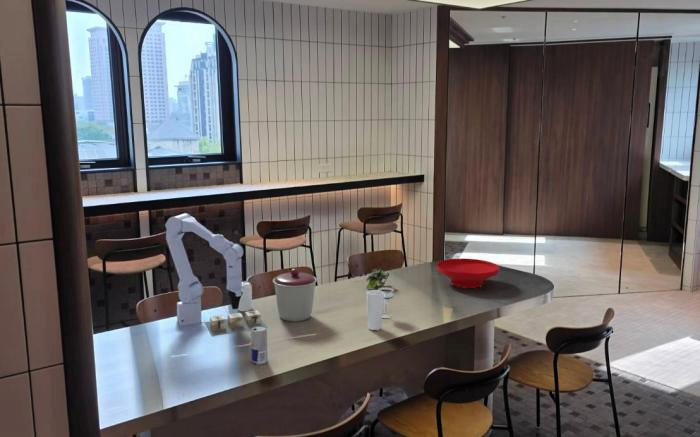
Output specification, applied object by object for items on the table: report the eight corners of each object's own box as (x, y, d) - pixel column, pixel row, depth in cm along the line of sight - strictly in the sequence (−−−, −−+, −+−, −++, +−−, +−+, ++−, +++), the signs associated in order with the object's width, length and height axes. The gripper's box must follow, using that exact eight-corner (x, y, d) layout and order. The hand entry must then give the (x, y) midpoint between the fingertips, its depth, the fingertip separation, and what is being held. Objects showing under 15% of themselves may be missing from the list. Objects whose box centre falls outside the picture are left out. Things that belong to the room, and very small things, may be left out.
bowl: (504, 293, 269) (505, 273, 267) (440, 293, 269) (441, 273, 267) (489, 276, 299) (490, 257, 297) (432, 275, 299) (433, 257, 297)
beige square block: (212, 330, 218) (212, 320, 218) (210, 326, 223) (210, 316, 222) (225, 328, 220) (225, 318, 220) (223, 324, 225) (222, 314, 224)
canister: (293, 307, 247) (292, 261, 243) (325, 316, 237) (325, 267, 233) (264, 319, 233) (263, 270, 229) (297, 329, 222) (297, 277, 219)
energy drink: (252, 358, 195) (251, 325, 193) (267, 358, 195) (267, 325, 193) (250, 365, 189) (250, 331, 187) (266, 365, 190) (266, 331, 188)
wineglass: (395, 315, 238) (396, 288, 236) (389, 320, 232) (390, 293, 230) (380, 313, 241) (381, 286, 239) (374, 318, 235) (375, 290, 232)
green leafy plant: (375, 295, 281) (384, 274, 285) (388, 297, 272) (397, 275, 276) (358, 286, 276) (368, 264, 280) (371, 287, 267) (381, 265, 271)
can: (248, 312, 240) (248, 285, 238) (234, 311, 241) (233, 284, 239) (254, 307, 246) (253, 281, 244) (240, 306, 248) (239, 280, 246)
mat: (211, 337, 213) (211, 336, 213) (204, 323, 227) (204, 322, 227) (268, 329, 222) (268, 327, 222) (257, 316, 236) (257, 314, 236)
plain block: (230, 328, 221) (230, 318, 221) (228, 323, 226) (227, 314, 225) (243, 326, 223) (243, 316, 223) (240, 322, 228) (240, 312, 227)
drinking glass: (385, 326, 225) (385, 290, 223) (380, 332, 219) (381, 295, 216) (368, 324, 227) (369, 289, 225) (363, 330, 221) (364, 293, 218)
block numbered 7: (248, 325, 224) (248, 315, 223) (245, 321, 229) (245, 311, 228) (260, 323, 226) (260, 314, 225) (257, 319, 231) (257, 310, 230)
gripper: (248, 279, 216) (249, 313, 218) (240, 269, 229) (240, 301, 231) (230, 281, 213) (231, 315, 216) (222, 271, 226) (223, 304, 229)
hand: (235, 308), depth 223 cm, fingers closed
